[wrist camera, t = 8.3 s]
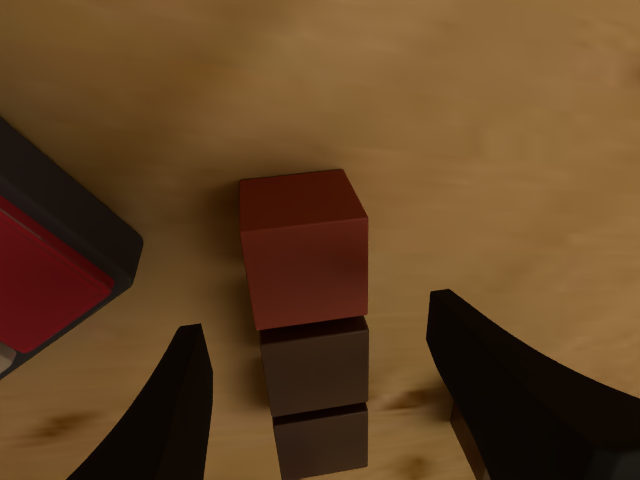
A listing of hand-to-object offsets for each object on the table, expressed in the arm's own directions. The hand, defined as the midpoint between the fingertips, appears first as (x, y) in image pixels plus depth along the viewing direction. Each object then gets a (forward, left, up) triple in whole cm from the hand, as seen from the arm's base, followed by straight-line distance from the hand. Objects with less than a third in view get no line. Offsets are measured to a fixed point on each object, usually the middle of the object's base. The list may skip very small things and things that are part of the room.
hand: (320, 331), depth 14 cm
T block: (-5, 0, -7) cm, 9 cm away
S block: (0, 0, -7) cm, 7 cm away
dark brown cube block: (-10, 0, -7) cm, 12 cm away
